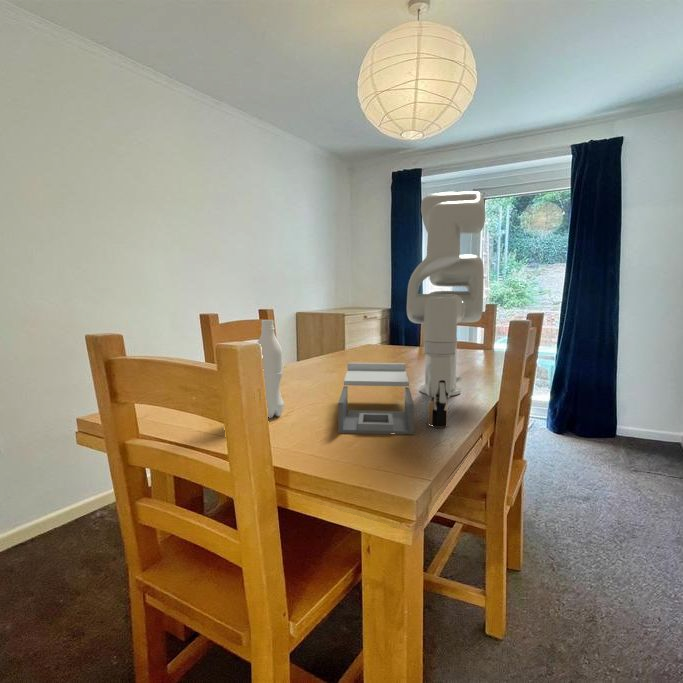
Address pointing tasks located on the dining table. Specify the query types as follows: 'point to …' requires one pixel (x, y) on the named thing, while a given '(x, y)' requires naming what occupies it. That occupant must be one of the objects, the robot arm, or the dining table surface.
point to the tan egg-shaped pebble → (431, 407)
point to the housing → (375, 418)
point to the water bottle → (271, 368)
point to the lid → (376, 374)
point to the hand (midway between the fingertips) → (437, 421)
